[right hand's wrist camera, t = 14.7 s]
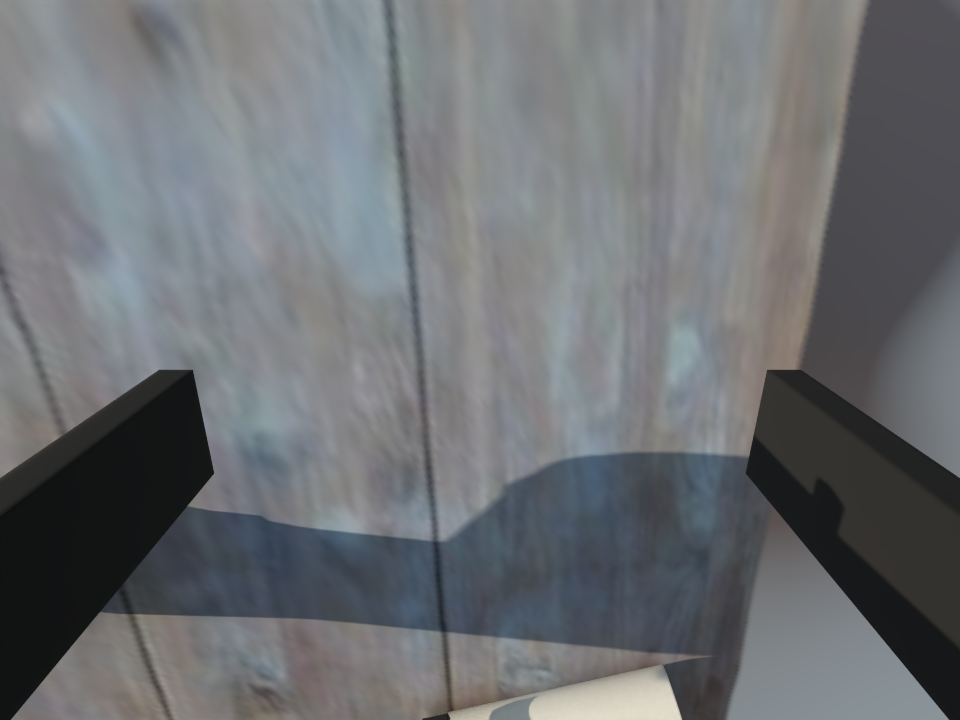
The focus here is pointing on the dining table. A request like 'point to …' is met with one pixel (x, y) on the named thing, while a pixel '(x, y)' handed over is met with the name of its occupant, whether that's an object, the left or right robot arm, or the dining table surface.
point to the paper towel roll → (589, 701)
